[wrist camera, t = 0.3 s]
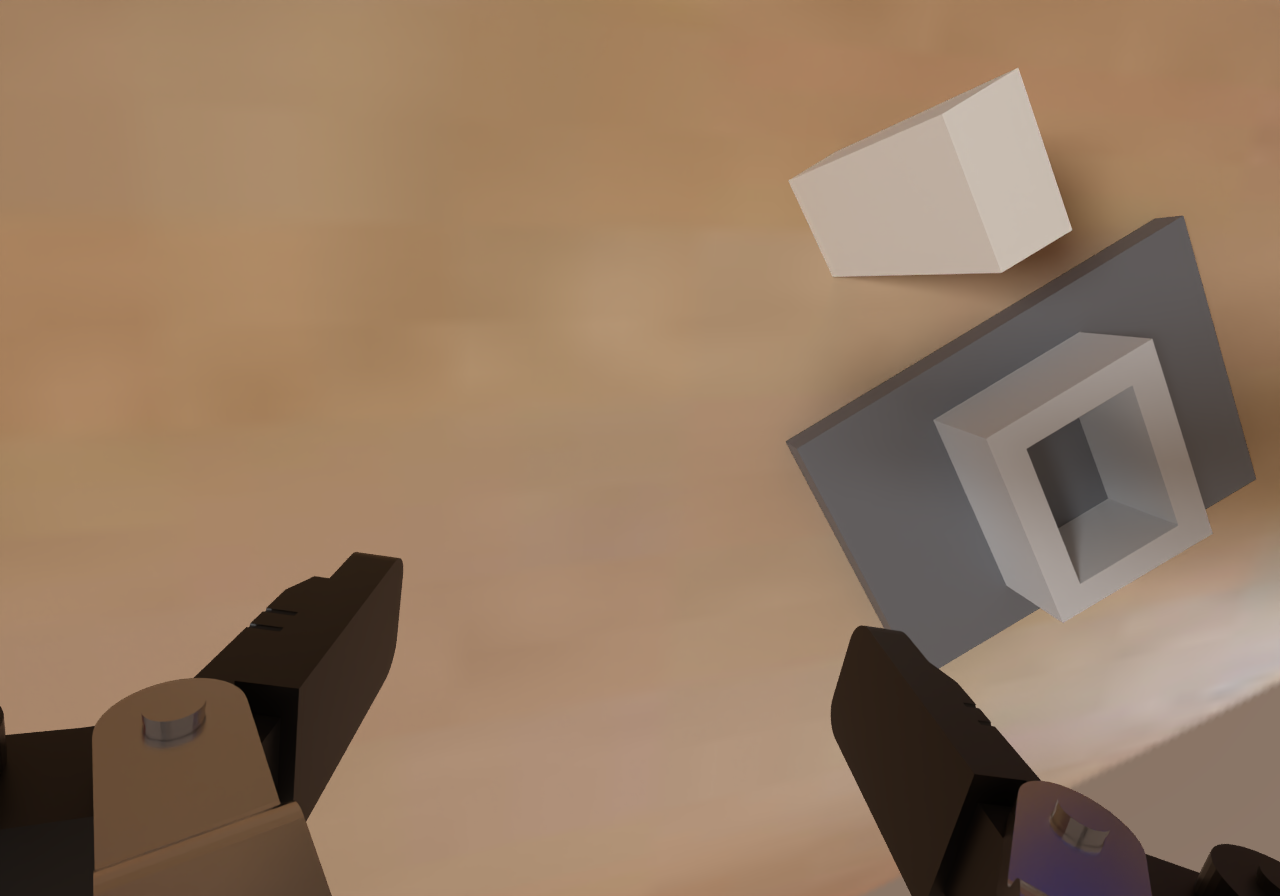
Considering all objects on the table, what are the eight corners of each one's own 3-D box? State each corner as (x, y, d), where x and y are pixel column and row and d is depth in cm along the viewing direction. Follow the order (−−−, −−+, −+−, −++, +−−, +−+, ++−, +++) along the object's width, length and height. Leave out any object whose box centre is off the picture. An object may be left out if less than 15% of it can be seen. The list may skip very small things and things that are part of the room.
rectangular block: (834, 152, 29) (1018, 67, 18) (876, 249, 31) (1072, 230, 19) (788, 180, 29) (941, 113, 18) (832, 276, 31) (1001, 272, 19)
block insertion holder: (1155, 218, 32) (1272, 205, 27) (1228, 471, 37) (1341, 502, 32) (785, 441, 33) (831, 472, 27) (903, 665, 37) (962, 728, 32)
